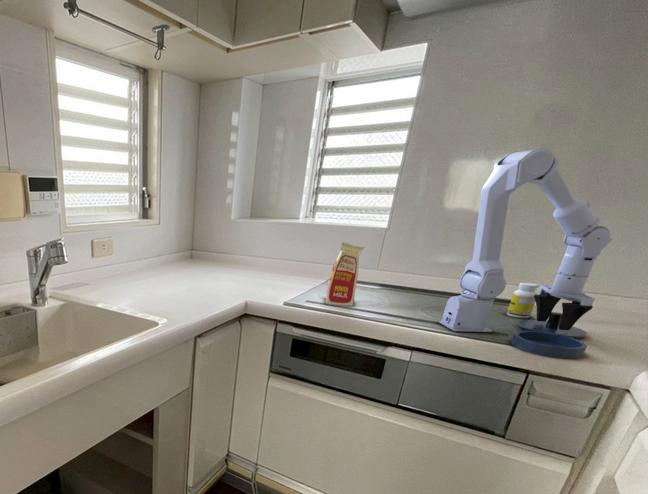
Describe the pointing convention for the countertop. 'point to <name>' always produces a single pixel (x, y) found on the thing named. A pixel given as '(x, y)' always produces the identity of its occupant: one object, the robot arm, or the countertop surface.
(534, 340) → the pot
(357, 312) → the countertop surface
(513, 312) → the supplement bottle
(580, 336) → the pot lid
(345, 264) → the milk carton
